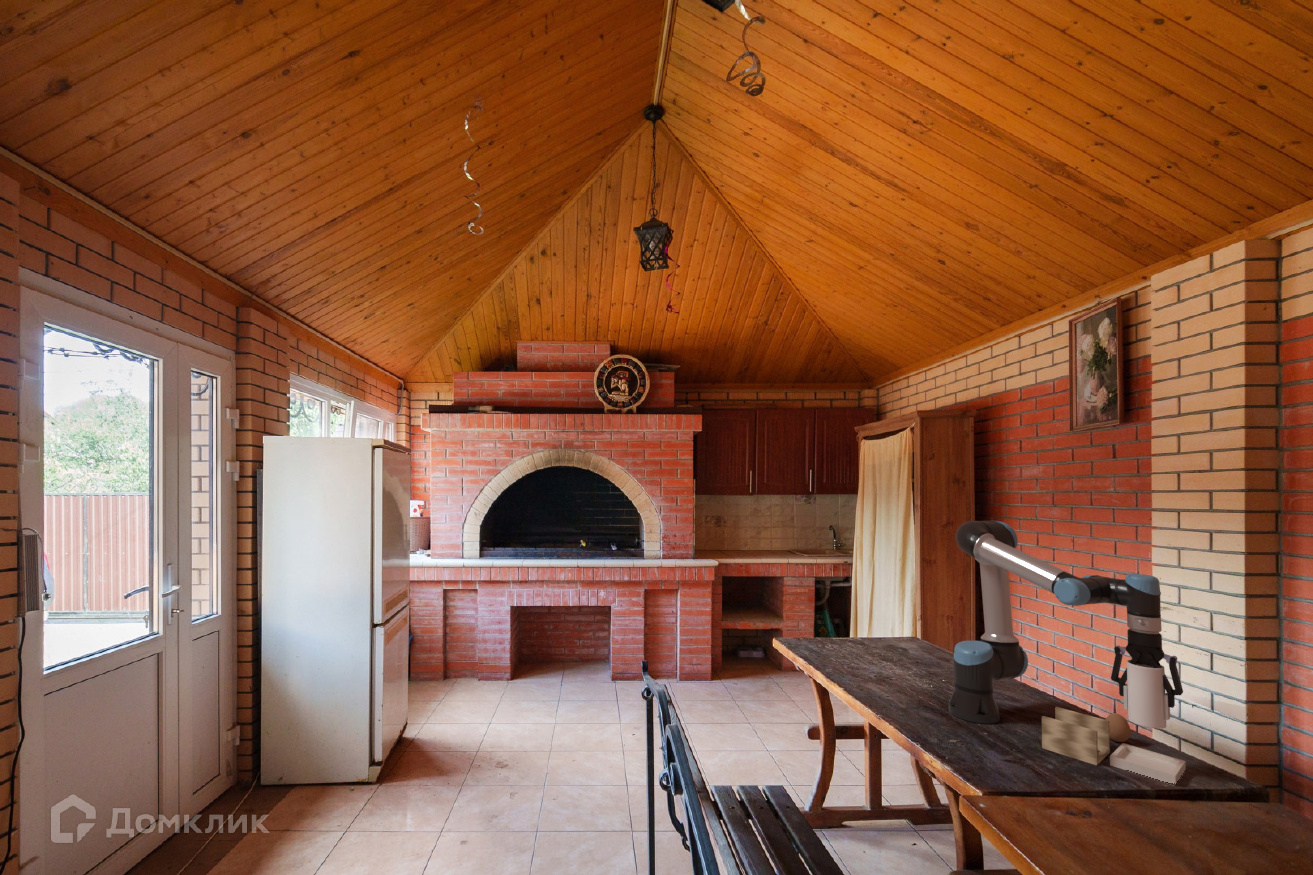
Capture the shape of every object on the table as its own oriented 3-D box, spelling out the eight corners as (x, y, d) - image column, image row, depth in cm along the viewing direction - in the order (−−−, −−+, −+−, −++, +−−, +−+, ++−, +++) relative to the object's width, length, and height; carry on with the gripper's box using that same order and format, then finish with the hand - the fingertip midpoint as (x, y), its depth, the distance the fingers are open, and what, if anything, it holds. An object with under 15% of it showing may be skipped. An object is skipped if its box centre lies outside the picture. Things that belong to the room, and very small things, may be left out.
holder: (1042, 747, 177) (1041, 716, 178) (1056, 736, 186) (1056, 706, 186) (1096, 765, 167) (1096, 732, 167) (1109, 752, 175) (1109, 720, 176)
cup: (1173, 730, 162) (1171, 669, 163) (1138, 726, 164) (1137, 666, 165) (1154, 718, 170) (1153, 660, 171) (1122, 715, 172) (1120, 658, 173)
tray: (1110, 765, 167) (1109, 755, 167) (1122, 751, 176) (1122, 742, 176) (1175, 785, 156) (1175, 775, 157) (1185, 770, 165) (1185, 760, 166)
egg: (1125, 747, 179) (1124, 719, 180) (1100, 739, 185) (1099, 711, 185) (1134, 743, 182) (1133, 715, 183) (1109, 735, 188) (1109, 708, 189)
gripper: (1095, 624, 174) (1097, 705, 173) (1191, 640, 158) (1194, 729, 157) (1102, 621, 179) (1104, 699, 178) (1196, 636, 163) (1199, 722, 162)
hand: (1146, 713), depth 167 cm, fingers closed on cup, 8 cm apart
